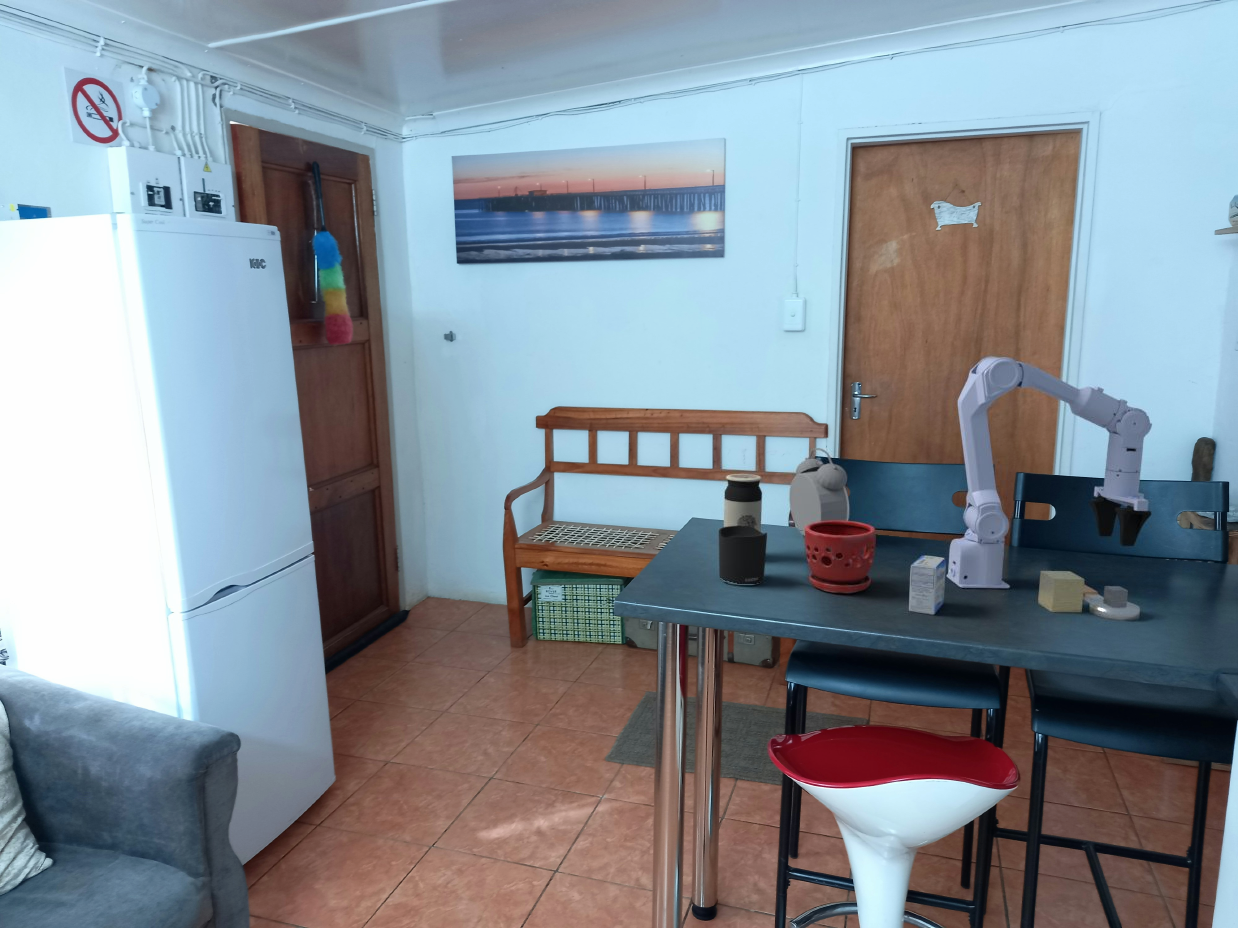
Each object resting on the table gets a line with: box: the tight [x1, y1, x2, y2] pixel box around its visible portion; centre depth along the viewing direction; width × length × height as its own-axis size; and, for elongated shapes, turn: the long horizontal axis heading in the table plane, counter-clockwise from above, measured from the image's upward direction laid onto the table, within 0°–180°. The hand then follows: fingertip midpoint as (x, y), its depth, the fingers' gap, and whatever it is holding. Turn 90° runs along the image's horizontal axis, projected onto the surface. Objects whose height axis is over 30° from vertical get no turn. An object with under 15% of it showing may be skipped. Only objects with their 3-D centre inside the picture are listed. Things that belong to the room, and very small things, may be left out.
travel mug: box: [723, 473, 763, 533], centre depth 185 cm, size 8×8×18 cm
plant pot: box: [804, 520, 877, 595], centre depth 164 cm, size 13×13×12 cm
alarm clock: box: [788, 447, 850, 537], centre depth 202 cm, size 16×9×22 cm, turn 17°
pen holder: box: [718, 526, 768, 584], centre depth 168 cm, size 9×9×10 cm
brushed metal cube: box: [1037, 570, 1085, 613], centre depth 153 cm, size 5×5×6 cm
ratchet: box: [1083, 584, 1141, 622], centre depth 155 cm, size 18×8×5 cm, turn 179°
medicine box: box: [908, 555, 947, 616], centre depth 152 cm, size 8×4×9 cm, turn 148°
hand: (1115, 540), depth 163 cm, fingers open, 7 cm apart
